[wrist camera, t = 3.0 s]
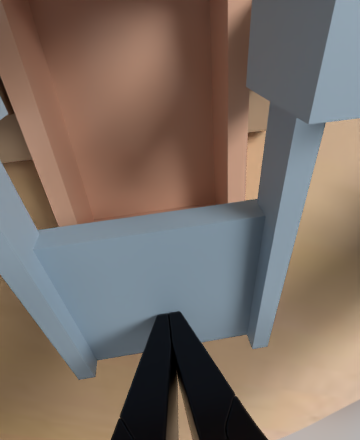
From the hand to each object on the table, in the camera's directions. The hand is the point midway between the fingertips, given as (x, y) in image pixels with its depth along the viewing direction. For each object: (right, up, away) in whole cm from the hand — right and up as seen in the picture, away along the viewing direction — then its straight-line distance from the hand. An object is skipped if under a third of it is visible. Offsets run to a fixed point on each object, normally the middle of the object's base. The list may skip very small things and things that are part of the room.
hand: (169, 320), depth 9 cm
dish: (-1, +8, +2) cm, 8 cm away
